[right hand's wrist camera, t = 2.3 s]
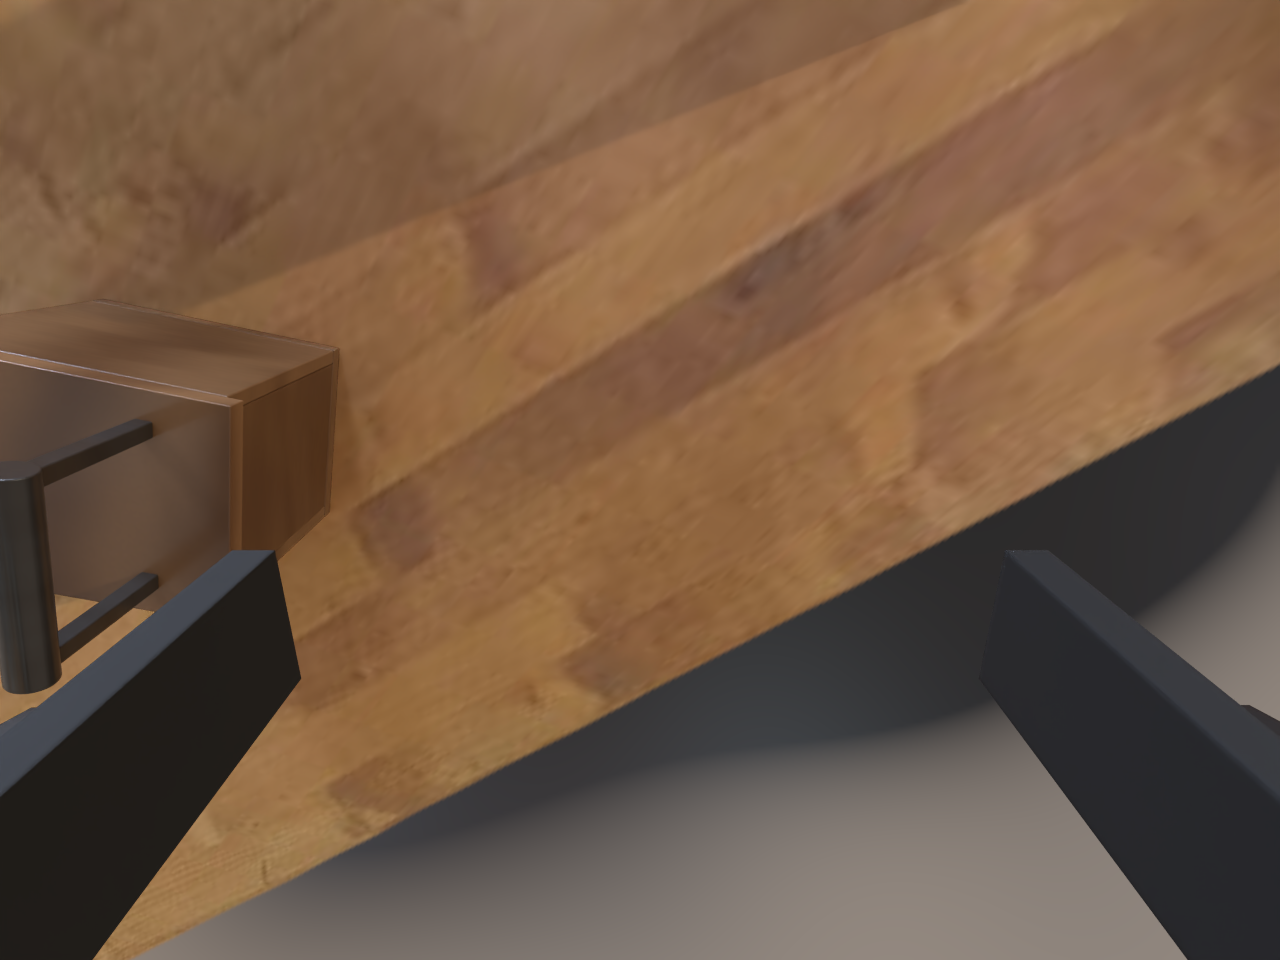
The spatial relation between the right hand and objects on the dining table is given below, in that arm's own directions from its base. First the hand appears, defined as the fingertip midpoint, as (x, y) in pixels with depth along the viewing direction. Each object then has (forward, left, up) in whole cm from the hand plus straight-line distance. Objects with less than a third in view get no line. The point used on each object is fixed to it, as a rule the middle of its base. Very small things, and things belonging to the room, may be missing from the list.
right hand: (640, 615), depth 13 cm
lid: (-3, -23, -16) cm, 28 cm away
